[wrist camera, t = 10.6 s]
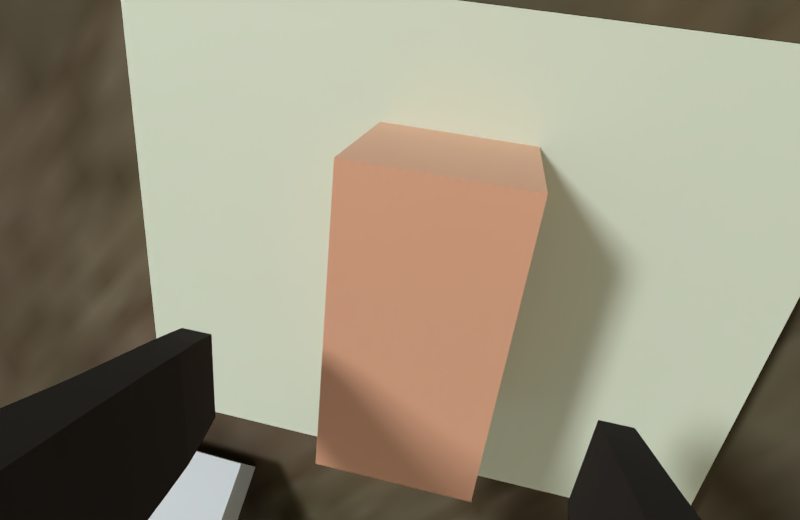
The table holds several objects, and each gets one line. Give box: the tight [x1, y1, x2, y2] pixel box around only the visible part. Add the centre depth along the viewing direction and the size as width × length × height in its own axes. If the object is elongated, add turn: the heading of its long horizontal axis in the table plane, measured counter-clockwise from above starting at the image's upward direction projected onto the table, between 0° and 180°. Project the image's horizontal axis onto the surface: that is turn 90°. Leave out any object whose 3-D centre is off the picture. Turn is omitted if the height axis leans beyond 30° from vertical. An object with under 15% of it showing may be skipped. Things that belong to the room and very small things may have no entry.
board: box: [121, 0, 800, 505], centre depth 15 cm, size 14×18×1 cm
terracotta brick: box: [316, 122, 548, 502], centre depth 13 cm, size 8×4×4 cm, turn 173°
